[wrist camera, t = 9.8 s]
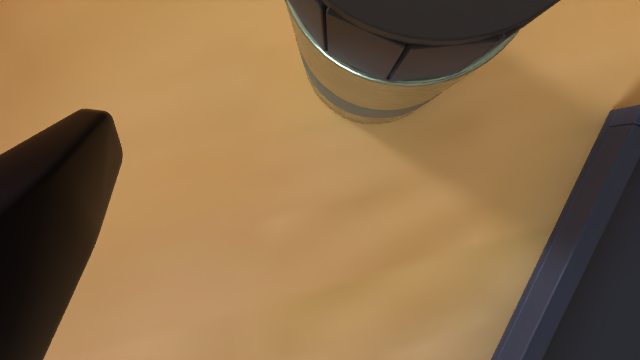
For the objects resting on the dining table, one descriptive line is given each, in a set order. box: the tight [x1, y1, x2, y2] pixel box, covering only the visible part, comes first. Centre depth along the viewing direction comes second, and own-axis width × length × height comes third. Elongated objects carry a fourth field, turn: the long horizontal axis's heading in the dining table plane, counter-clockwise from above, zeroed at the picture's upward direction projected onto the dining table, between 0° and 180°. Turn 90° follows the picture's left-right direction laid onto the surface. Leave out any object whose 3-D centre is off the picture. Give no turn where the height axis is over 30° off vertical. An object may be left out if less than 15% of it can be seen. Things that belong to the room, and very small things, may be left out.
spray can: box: [285, 0, 518, 124], centre depth 13 cm, size 5×5×10 cm
